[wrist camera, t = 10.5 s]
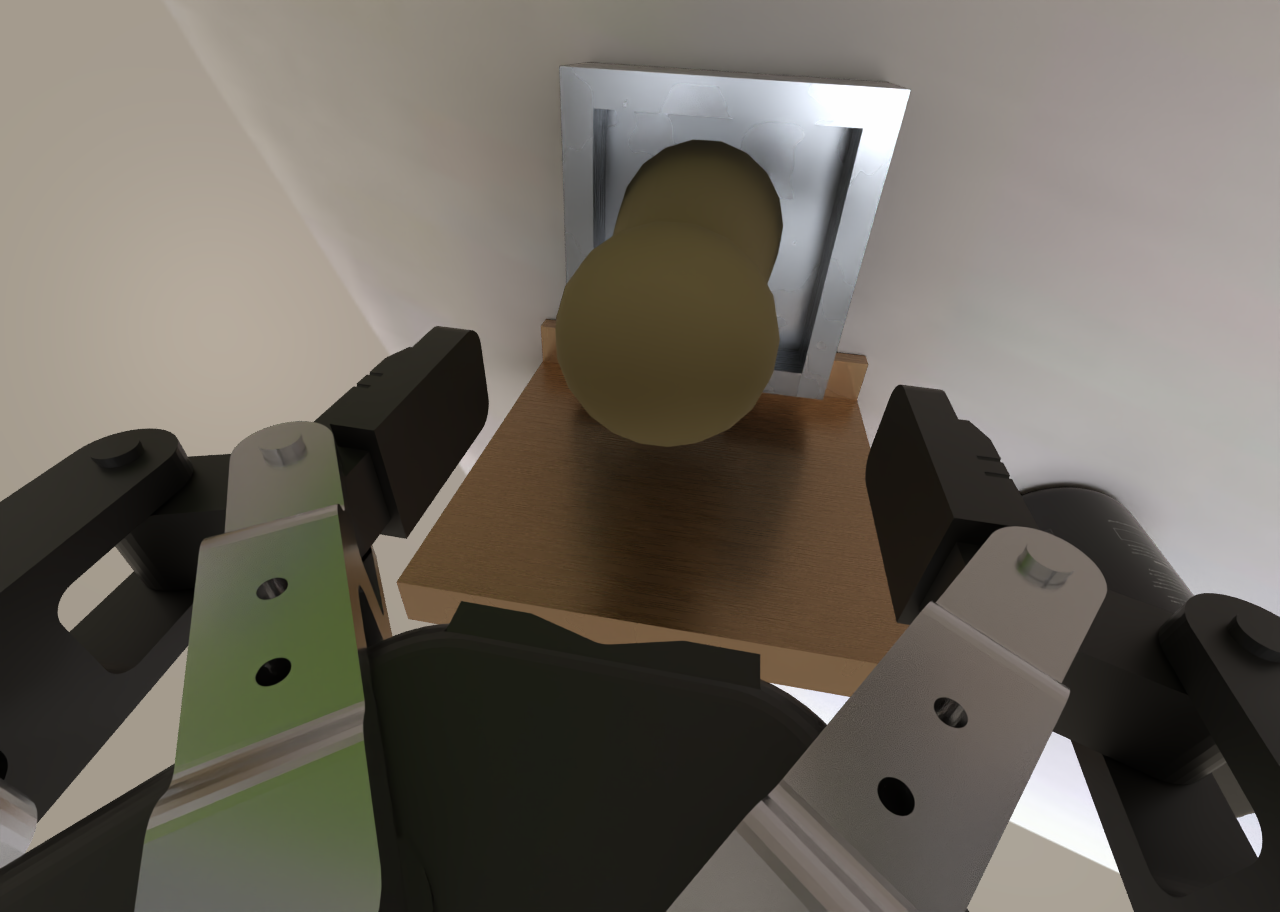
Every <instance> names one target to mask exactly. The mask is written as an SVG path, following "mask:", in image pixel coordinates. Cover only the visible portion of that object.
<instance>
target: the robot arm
mask: <svg viewBox="0 0 1280 912" xmlns="http://www.w3.org/2000/svg"><path fill="white" fill-rule="evenodd" d="M488 407H489V400H488V392H487V384H486V377H485V370H484V363H483V356H482V349H481V342H480V339H479V336H478V334H477V333H476V332H475V331H473V330H465V329H457V328H449V327H441V326H436V327H434V328H433V329H432V330H430V331H429V332H428V333H427V334H426V335H425V336H424V337H423V338H422V339H421V340H420V341H419V342H417V343H416V344H415V345H414V346H413V347H408V348H406V349H404V350H402V351H400V352H397V353H395V354H393V355H391V356H389V357H387V358H385V359H384V360H383V361H382V362H381V363H380V364H378V365H377V366H376V367H375V368H374V369H373V370H372V371H371V372H370V375H366V376H365V377H364V378H363V379H361V380H360V381H359V382H358V383H357V387H352V388H351V389H350V390H349V391H348V392H347V393H346V394H344V395H343V396H342V397H341V398H340V399H339V400H338V401H337V402H335V403H334V404H333V405H332V406H331V407H330V408H329V409H328V410H326V411H325V412H324V413H323V414H322V415H321V416H320V417H319V418H318V419H316V420H315V421H314V422H307V421H296V422H287V423H281V424H277V425H273V426H270V427H267V428H264V429H262V430H259V431H257V432H255V433H253V434H251V435H250V436H248V437H247V438H245V439H244V440H242V441H241V442H240V443H239V444H238V445H237V446H236V447H235V448H234V450H233V451H232V453H231V454H225V455H224V454H223V455H208V456H192V457H187V455H186V453H185V451H184V449H183V448H182V446H181V444H180V442H179V441H178V439H177V437H176V436H175V435H174V434H172V433H171V432H168V431H166V430H161V429H137V430H130V431H125V432H121V433H117V434H113V435H110V436H107V437H104V438H102V439H99V440H96V441H94V442H92V443H90V444H88V445H86V446H84V447H82V448H81V449H79V450H77V451H76V452H74V453H73V454H71V455H70V456H68V457H67V458H65V459H64V460H62V461H61V462H59V463H58V464H56V465H55V466H53V467H52V468H50V469H49V470H47V471H46V472H44V473H43V474H41V475H40V476H38V477H37V478H36V479H34V480H33V481H31V482H29V483H28V484H26V485H25V486H23V487H22V488H20V489H19V490H18V491H16V492H14V493H13V494H12V495H10V496H9V497H7V498H6V499H4V500H3V501H1V502H0V912H969V911H968V909H967V906H968V904H969V902H970V900H971V898H972V896H973V894H974V892H975V890H976V888H977V886H978V883H979V882H980V880H981V878H982V876H983V873H984V871H985V869H986V867H987V865H988V863H989V861H990V859H991V857H992V855H993V853H994V851H995V849H996V847H997V845H998V842H999V840H1000V838H1001V836H1002V834H1003V832H1004V830H1005V828H1006V826H1007V824H1008V822H1009V820H1010V818H1011V816H1012V814H1013V812H1014V809H1015V807H1016V805H1017V803H1018V801H1019V799H1020V797H1021V795H1022V793H1023V791H1024V789H1025V787H1026V785H1027V783H1028V781H1029V779H1030V776H1031V774H1032V772H1033V770H1034V768H1035V766H1036V764H1037V762H1038V760H1039V758H1040V756H1041V754H1042V752H1043V750H1044V748H1045V746H1046V743H1047V741H1048V739H1049V737H1050V735H1051V733H1052V731H1053V732H1055V733H1057V734H1060V735H1062V736H1064V737H1066V738H1068V739H1071V742H1072V745H1073V747H1074V750H1075V753H1076V756H1077V758H1078V761H1079V764H1080V766H1081V769H1082V772H1083V775H1084V777H1085V780H1086V783H1087V785H1088V788H1089V791H1090V794H1091V796H1092V799H1093V802H1094V804H1095V807H1096V810H1097V813H1098V815H1099V818H1100V821H1101V823H1102V826H1103V829H1104V832H1105V834H1106V837H1107V840H1108V842H1109V845H1110V848H1111V851H1112V853H1113V856H1114V859H1115V861H1116V864H1117V867H1118V870H1119V872H1120V875H1121V878H1122V880H1123V883H1124V886H1125V889H1126V891H1127V894H1128V897H1129V899H1130V902H1131V905H1132V908H1133V910H1134V912H1280V617H1278V616H1277V615H1275V614H1273V613H1271V612H1269V611H1267V610H1265V609H1263V608H1261V607H1259V606H1257V605H1254V604H1252V603H1249V602H1247V601H1244V600H1241V599H1238V598H1235V597H1231V596H1227V595H1222V594H1214V593H1203V594H1198V595H1195V596H1193V597H1191V598H1190V599H1189V600H1188V601H1187V602H1186V603H1185V604H1183V605H1182V606H1181V607H1180V608H1179V609H1178V610H1177V611H1176V612H1175V613H1171V612H1168V611H1165V610H1163V609H1160V608H1157V607H1154V606H1152V605H1149V604H1146V603H1143V602H1141V601H1138V600H1135V599H1132V598H1130V597H1127V596H1124V595H1121V594H1119V593H1116V592H1113V591H1111V590H1109V589H1107V584H1106V581H1105V578H1104V576H1103V574H1102V573H1101V571H1100V570H1099V568H1098V567H1097V566H1096V565H1095V563H1094V562H1093V561H1092V560H1091V559H1090V558H1089V557H1088V556H1086V555H1085V554H1084V553H1083V552H1081V551H1080V550H1079V549H1077V548H1076V547H1074V546H1073V545H1071V544H1070V543H1068V542H1066V541H1064V540H1063V539H1061V538H1058V537H1056V536H1054V535H1052V534H1049V533H1046V532H1044V531H1040V530H1039V528H1038V526H1037V524H1036V522H1035V520H1034V519H1033V517H1032V515H1031V513H1030V511H1029V509H1028V508H1027V506H1026V504H1025V502H1024V500H1023V498H1022V497H1021V495H1020V493H1019V491H1018V489H1017V487H1016V486H1015V484H1014V482H1013V480H1012V479H1009V476H1010V475H1009V473H1008V471H1007V469H1006V467H1005V465H1004V464H1003V463H1001V462H1000V460H1001V458H1000V456H999V454H998V453H997V451H996V449H995V447H994V445H993V443H992V442H991V440H990V439H989V438H988V437H987V436H986V435H985V434H984V433H982V432H981V431H980V430H979V429H978V428H977V427H975V426H974V425H973V424H972V423H971V422H970V421H967V420H960V419H958V418H957V416H956V414H955V412H954V410H953V408H952V406H951V404H950V402H949V399H948V397H947V395H946V394H945V392H944V391H943V390H938V389H930V388H922V387H914V386H906V385H898V386H897V387H896V388H895V389H894V390H893V392H892V394H891V396H890V399H889V401H888V404H887V407H886V409H885V412H884V415H883V417H882V420H881V422H880V425H879V428H878V430H877V433H876V436H875V438H874V441H873V444H872V446H871V449H870V452H869V455H868V459H867V464H866V471H865V482H866V488H867V492H868V497H869V501H870V506H871V510H872V515H873V519H874V524H875V528H876V533H877V537H878V542H879V546H880V551H881V555H882V559H883V564H884V568H885V573H886V577H887V582H888V586H889V591H890V595H891V600H892V604H893V609H894V613H895V618H896V622H897V623H900V624H906V625H910V626H909V627H908V628H907V629H906V630H905V632H904V633H903V634H902V635H901V636H900V638H899V639H898V640H897V641H896V643H895V644H894V645H893V646H892V647H891V649H890V650H889V651H888V652H887V653H886V655H885V656H884V657H883V658H882V659H881V661H880V662H879V663H878V664H877V665H876V667H875V668H874V669H873V670H872V671H871V673H870V674H869V675H868V676H867V678H866V679H865V680H864V681H863V682H862V684H861V685H860V686H859V687H858V688H857V690H856V691H855V692H854V693H853V694H852V696H851V697H850V698H849V699H848V700H847V702H846V703H845V704H844V705H843V707H842V708H841V709H840V710H839V711H838V713H837V714H836V715H835V716H834V717H833V719H832V720H831V721H830V722H829V723H828V725H826V723H825V722H824V721H823V720H821V719H820V718H819V717H818V716H817V715H816V714H815V713H814V712H812V711H811V710H810V709H809V708H808V707H807V706H805V705H804V704H803V703H801V702H800V701H798V700H797V699H796V698H794V697H793V696H791V695H790V694H788V693H786V692H785V691H783V690H781V689H779V688H778V687H776V686H774V685H772V684H770V683H768V682H766V681H764V680H761V679H760V654H756V653H751V652H745V651H739V650H734V649H728V648H723V647H717V646H711V645H706V644H700V643H695V642H689V641H665V642H646V643H627V644H601V643H597V642H595V641H592V640H590V639H588V638H586V637H583V636H581V635H579V634H577V633H574V632H572V631H570V630H568V629H565V628H563V627H561V626H559V625H556V624H554V623H552V622H550V621H547V620H545V619H543V618H541V617H538V616H536V615H534V614H532V613H526V612H521V611H515V610H510V609H504V608H498V607H493V606H487V605H482V604H476V603H470V602H465V601H461V602H460V604H459V606H458V608H457V610H456V612H455V614H454V616H453V618H452V619H451V621H450V623H447V624H438V625H432V626H426V627H422V628H418V629H414V630H410V631H406V632H404V633H401V634H398V635H395V636H392V632H391V628H390V623H389V618H388V613H387V608H386V604H385V598H384V593H383V588H382V583H381V579H380V573H379V568H378V563H377V558H376V555H375V552H374V549H373V546H372V544H373V543H374V541H375V540H376V539H377V537H378V536H379V535H380V534H382V535H388V536H394V537H400V538H406V539H407V537H408V536H409V534H410V533H411V531H412V530H413V529H414V527H415V526H416V524H417V523H418V521H419V520H420V518H421V517H422V515H423V514H424V512H425V511H426V510H427V508H428V507H429V505H430V504H431V503H432V501H433V500H434V498H435V496H436V495H437V494H438V492H439V491H440V489H441V488H442V487H443V485H444V484H445V482H446V481H447V479H448V478H449V476H450V475H451V473H452V472H453V471H454V469H455V468H456V466H457V465H458V463H459V462H460V461H461V459H462V458H463V456H464V455H465V453H466V452H467V450H468V449H469V448H470V446H471V445H472V443H473V442H474V440H475V439H476V437H477V436H478V435H479V433H480V432H481V430H482V429H483V427H484V425H485V422H486V419H487V415H488ZM114 546H115V547H116V548H117V549H118V550H119V552H120V553H121V555H122V556H123V557H124V558H125V559H126V561H127V562H128V563H129V565H130V566H131V568H132V569H133V570H134V572H133V573H132V574H131V575H130V576H129V577H128V578H126V580H124V581H123V582H122V583H121V584H120V585H119V586H118V587H117V588H116V589H115V590H114V591H113V592H112V593H110V595H108V596H107V597H106V598H105V599H104V600H103V601H102V602H101V603H100V604H99V605H98V606H97V607H96V608H95V609H94V610H92V611H91V612H90V613H89V614H88V615H87V616H86V617H85V618H84V619H83V620H82V621H81V622H80V623H79V624H78V625H77V626H76V627H74V629H72V630H71V631H70V632H68V631H67V630H66V629H65V628H64V627H63V625H62V624H61V623H60V621H59V619H58V613H57V612H58V604H59V601H60V599H61V597H62V595H63V593H64V592H65V591H66V589H67V588H68V587H69V586H70V585H71V584H72V583H73V582H74V581H75V580H77V579H78V578H79V577H80V576H81V575H82V574H83V573H85V572H86V571H87V570H88V569H89V568H90V567H91V566H93V565H94V564H95V563H96V562H97V561H98V560H99V559H101V558H102V557H103V556H104V555H105V554H106V553H108V552H109V551H110V550H111V549H112V548H113V547H114ZM187 646H188V655H187V662H186V671H185V680H184V688H183V697H182V706H181V715H180V723H179V732H178V742H177V750H176V758H175V764H173V765H171V766H170V767H168V768H167V769H165V770H163V771H162V772H160V773H159V774H157V775H155V776H153V777H152V778H150V779H148V780H147V781H145V782H143V783H142V784H140V785H138V786H137V787H135V788H133V789H132V790H130V791H128V792H127V793H125V794H123V795H122V796H120V797H119V798H117V799H115V800H113V801H112V802H110V803H108V804H107V805H105V806H103V807H102V808H100V809H98V810H97V811H95V812H93V813H92V814H90V815H88V816H87V817H85V818H84V819H82V820H80V821H78V822H77V823H75V824H73V825H72V826H70V827H68V828H67V829H65V830H64V831H62V832H60V833H59V834H57V835H55V836H53V837H52V838H50V839H49V840H47V841H45V842H44V843H42V844H40V845H39V846H37V847H35V848H34V849H32V850H30V851H29V852H27V853H25V851H26V849H27V848H28V846H29V844H30V842H31V840H32V837H33V835H34V832H35V829H36V824H37V823H38V822H39V820H40V819H41V818H42V817H43V816H44V815H45V813H46V812H47V811H48V810H49V809H50V807H51V806H52V805H53V804H54V803H55V802H56V800H57V799H58V798H59V797H60V796H61V794H62V793H63V792H64V791H65V790H66V789H67V787H68V786H69V785H70V784H71V783H72V782H73V780H74V779H75V778H76V777H77V776H78V775H79V773H80V772H81V771H82V770H83V769H84V767H85V766H86V765H87V764H88V763H89V762H90V760H91V759H92V758H93V757H94V756H95V754H96V753H97V752H98V751H99V750H100V749H101V747H102V746H103V745H104V744H105V743H106V741H107V740H108V739H109V738H110V737H111V736H112V734H113V733H114V732H115V731H116V730H117V729H118V727H119V726H120V725H121V724H122V723H123V722H124V720H125V719H126V718H127V717H128V715H129V714H130V713H131V712H132V711H133V710H134V709H135V707H136V706H137V705H138V704H139V703H140V701H141V700H142V699H143V698H144V697H145V696H146V694H147V693H148V692H149V691H150V690H151V689H152V687H153V686H154V685H155V684H156V683H157V681H158V680H159V679H160V678H161V677H162V676H163V674H164V673H165V672H166V671H167V670H168V669H169V667H170V666H171V665H172V664H173V663H174V661H175V660H176V659H177V658H178V657H179V656H180V654H181V653H182V652H183V651H184V650H185V648H186V647H187ZM1225 763H1227V764H1228V766H1229V768H1230V770H1231V771H1232V773H1233V775H1234V777H1235V778H1236V780H1237V782H1238V784H1239V785H1240V787H1241V789H1242V791H1243V792H1244V794H1245V796H1246V798H1247V799H1248V801H1249V803H1250V805H1251V807H1252V808H1253V810H1254V812H1255V814H1256V816H1257V818H1258V821H1259V824H1260V827H1261V831H1262V849H1261V853H1260V855H1259V857H1257V856H1256V854H1255V852H1254V850H1253V848H1252V846H1251V844H1250V843H1249V841H1248V839H1247V837H1246V835H1245V833H1244V831H1243V830H1242V828H1241V826H1240V824H1239V822H1238V820H1237V819H1236V817H1235V815H1234V813H1233V811H1232V809H1231V807H1230V806H1229V804H1228V802H1227V800H1226V798H1225V796H1224V795H1223V793H1222V791H1221V789H1220V787H1219V785H1218V783H1217V782H1216V780H1215V778H1214V776H1213V774H1212V772H1213V771H1214V770H1216V769H1217V768H1219V767H1220V766H1222V765H1223V764H1225ZM24 853H25V854H24Z"/></svg>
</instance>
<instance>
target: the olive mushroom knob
mask: <svg viewBox="0 0 1280 912" xmlns="http://www.w3.org/2000/svg"><path fill="white" fill-rule="evenodd" d="M782 230H783V220H782V212H781V205H780V198H779V196H778V194H777V192H776V190H775V188H774V186H773V184H772V182H771V180H770V177H769V175H768V173H767V172H766V171H765V170H764V169H763V168H762V167H761V166H760V165H759V164H758V163H757V162H756V161H755V160H754V159H753V158H752V157H751V156H750V155H749V154H748V153H746V152H744V151H742V150H739V149H737V148H735V147H733V146H731V145H728V144H726V143H724V142H722V141H710V140H694V139H693V140H689V141H686V142H683V143H679V144H676V145H672V146H669V147H666V148H664V149H663V150H662V151H660V152H659V153H658V154H656V155H655V156H653V157H652V158H651V159H649V160H648V161H647V162H645V163H644V164H643V165H642V166H641V168H640V169H639V170H638V172H637V173H636V175H635V176H634V177H633V179H632V180H631V182H630V183H629V184H628V186H627V188H626V191H625V194H624V197H623V200H622V203H621V207H620V210H619V213H618V217H617V221H616V225H615V229H614V233H613V236H612V237H611V238H609V239H608V240H606V241H605V242H603V243H602V244H600V245H599V246H597V247H596V248H595V249H593V250H592V251H591V252H590V253H589V254H588V256H587V257H586V258H585V259H584V261H583V262H582V263H581V265H580V266H579V268H578V269H577V270H576V272H575V273H574V275H573V276H572V277H571V279H570V280H569V281H568V283H567V284H566V286H565V289H564V293H563V296H562V300H561V303H560V307H559V310H558V314H557V317H556V326H555V332H556V349H557V360H558V363H559V365H560V368H561V370H562V373H563V375H564V378H565V380H566V383H567V385H568V388H569V389H570V391H571V392H572V393H573V395H574V396H575V397H576V398H577V400H578V401H579V402H580V403H581V405H582V406H583V407H584V409H585V410H586V411H587V412H588V414H589V415H590V416H591V417H592V418H594V419H595V420H596V421H598V422H599V423H600V424H602V425H603V426H604V427H606V428H607V429H609V430H610V431H611V432H613V433H615V434H617V435H620V436H622V437H625V438H627V439H630V440H632V441H635V442H637V443H640V444H648V445H656V446H664V447H671V446H679V445H686V444H693V443H698V442H700V441H703V440H705V439H707V438H710V437H712V436H714V435H717V434H719V433H721V432H723V431H726V430H728V429H730V428H731V427H732V426H733V425H734V424H736V423H737V422H738V421H739V420H740V419H741V418H743V417H744V416H745V415H746V414H747V413H748V412H750V411H751V410H752V409H753V407H754V406H755V404H756V402H757V400H758V399H759V397H760V395H761V394H762V392H763V390H764V389H765V387H766V385H767V384H768V382H769V380H770V378H771V376H772V374H773V372H774V367H775V362H776V357H777V352H778V347H779V342H780V337H779V329H778V322H777V315H776V309H775V302H774V296H773V294H772V292H771V290H770V288H769V286H768V285H767V284H768V281H769V278H770V276H771V273H772V270H773V267H774V264H775V261H776V259H777V256H778V253H779V247H780V242H781V236H782Z"/></svg>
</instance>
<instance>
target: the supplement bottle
mask: <svg viewBox="0 0 1280 912" xmlns="http://www.w3.org/2000/svg"><path fill="white" fill-rule="evenodd" d="M1021 497H1022V498H1023V500H1024V502H1025V504H1026V506H1027V508H1028V509H1029V511H1030V513H1031V515H1032V517H1033V519H1034V520H1035V522H1036V524H1037V526H1038V528H1039V530H1040V531H1044V532H1046V533H1049V534H1052V535H1054V536H1056V537H1058V538H1061V539H1063V540H1064V541H1066V542H1068V543H1070V544H1071V545H1073V546H1074V547H1076V548H1077V549H1079V550H1080V551H1081V552H1083V553H1084V554H1085V555H1086V556H1088V557H1089V558H1090V559H1091V560H1092V561H1093V562H1094V563H1095V565H1096V566H1097V567H1098V568H1099V570H1100V571H1101V573H1102V574H1103V576H1104V578H1105V581H1106V584H1107V589H1109V590H1111V591H1113V592H1116V593H1119V594H1121V595H1124V596H1127V597H1130V598H1132V599H1135V600H1138V601H1141V602H1143V603H1146V604H1149V605H1152V606H1154V607H1157V608H1160V609H1163V610H1165V611H1168V612H1171V613H1175V612H1176V611H1177V610H1178V609H1179V608H1180V607H1181V606H1182V605H1183V604H1185V603H1186V602H1187V601H1188V600H1189V599H1190V598H1191V597H1193V596H1194V595H1193V594H1192V592H1191V591H1190V590H1189V588H1188V587H1187V586H1186V584H1185V583H1184V582H1183V580H1182V579H1181V578H1180V577H1179V575H1178V574H1177V573H1176V571H1175V570H1174V569H1173V567H1172V566H1171V565H1170V563H1169V562H1168V561H1167V559H1166V558H1165V557H1164V555H1163V554H1162V553H1161V551H1160V550H1159V549H1158V548H1157V546H1156V545H1155V544H1154V542H1153V541H1152V540H1151V538H1150V537H1149V536H1148V534H1147V533H1146V532H1145V530H1144V529H1143V528H1142V527H1141V525H1140V524H1139V523H1138V522H1137V520H1136V519H1135V518H1134V517H1133V515H1132V514H1131V513H1130V512H1129V511H1128V510H1127V509H1126V507H1125V506H1123V505H1122V504H1121V503H1120V502H1118V501H1117V500H1115V499H1114V498H1112V497H1110V496H1108V495H1105V494H1103V493H1100V492H1097V491H1093V490H1089V489H1083V488H1073V487H1059V488H1049V489H1043V490H1038V491H1034V492H1030V493H1027V494H1024V495H1021ZM1212 774H1213V776H1214V778H1215V780H1216V782H1217V783H1218V785H1219V787H1220V789H1221V791H1222V793H1223V795H1224V796H1225V798H1226V800H1227V802H1228V804H1229V806H1230V807H1231V809H1232V811H1233V813H1234V815H1235V817H1236V818H1238V817H1242V816H1244V815H1247V814H1251V813H1255V812H1254V810H1253V808H1252V807H1251V805H1250V803H1249V801H1248V799H1247V798H1246V796H1245V794H1244V792H1243V791H1242V789H1241V787H1240V785H1239V784H1238V782H1237V780H1236V778H1235V777H1234V775H1233V773H1232V771H1231V770H1230V768H1229V766H1228V764H1227V763H1225V764H1223V765H1222V766H1220V767H1219V768H1217V769H1216V770H1214V771H1213V772H1212Z"/></svg>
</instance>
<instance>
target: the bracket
mask: <svg viewBox="0 0 1280 912" xmlns="http://www.w3.org/2000/svg"><path fill="white" fill-rule="evenodd" d="M910 91H911V90H910V89H907V88H904V87H901V86H898V85H895V84H892V83H889V82H880V81H865V80H850V79H835V78H820V77H804V76H789V75H774V74H759V73H744V72H729V71H714V70H698V69H683V68H668V67H653V66H638V65H623V64H607V63H592V62H586V63H578V64H571V65H564V66H560V97H561V128H562V160H563V191H564V223H565V254H566V284H567V283H568V281H569V280H570V279H571V277H572V276H573V275H574V273H575V272H576V270H577V269H578V268H579V266H580V265H581V263H582V262H583V261H584V259H585V258H586V257H587V256H588V254H589V253H590V252H591V251H592V250H593V249H595V248H596V247H597V246H599V245H600V244H602V243H603V242H605V241H606V240H608V239H609V238H611V237H612V236H613V233H614V229H615V225H616V221H617V217H618V213H619V210H620V207H621V203H622V200H623V197H624V194H625V191H626V188H627V186H628V184H629V183H630V182H631V180H632V179H633V177H634V176H635V175H636V173H637V172H638V170H639V169H640V168H641V166H642V165H643V164H644V163H645V162H647V161H648V160H649V159H651V158H652V157H653V156H655V155H656V154H658V153H659V152H660V151H662V150H663V149H664V148H666V147H669V146H672V145H676V144H679V143H683V142H686V141H689V140H693V139H694V140H710V141H722V142H724V143H726V144H728V145H731V146H733V147H735V148H737V149H739V150H742V151H744V152H746V153H748V154H749V155H750V156H751V157H752V158H753V159H754V160H755V161H756V162H757V163H758V164H759V165H760V166H761V167H762V168H763V169H764V170H765V171H766V172H767V173H768V175H769V177H770V180H771V182H772V184H773V186H774V188H775V190H776V192H777V194H778V196H779V198H780V205H781V212H782V220H783V230H782V236H781V242H780V247H779V253H778V256H777V259H776V261H775V264H774V267H773V270H772V273H771V276H770V278H769V281H768V284H767V285H768V286H769V288H770V290H771V292H772V294H773V296H774V302H775V309H776V315H777V322H778V329H779V337H780V342H779V347H778V352H777V357H776V362H775V367H774V372H773V374H772V376H771V378H770V380H769V382H768V384H767V385H766V387H765V389H764V390H763V392H762V394H761V395H760V397H759V399H758V400H757V402H756V404H755V406H754V407H753V409H752V410H751V411H750V412H748V413H747V414H746V415H745V416H744V417H743V418H741V419H740V420H739V421H738V422H737V423H736V424H734V425H733V426H732V427H731V428H730V429H728V430H726V431H723V432H721V433H719V434H717V435H714V436H712V437H710V438H707V439H705V440H703V441H700V442H698V443H693V444H686V445H679V446H671V447H664V446H656V445H648V444H640V443H637V442H635V441H632V440H630V439H627V438H625V437H622V436H620V435H617V434H615V433H613V432H611V431H610V430H609V429H607V428H606V427H604V426H603V425H602V424H600V423H599V422H598V421H596V420H595V419H594V418H592V417H591V416H590V415H589V414H588V412H587V411H586V410H585V409H584V407H583V406H582V405H581V403H580V402H579V401H578V400H577V398H576V397H575V396H574V395H573V393H572V392H571V391H570V389H569V388H568V385H567V383H566V380H565V378H564V375H563V373H562V370H561V368H560V365H559V363H558V360H557V349H556V332H555V326H556V320H549V319H546V320H545V321H544V323H543V324H542V325H541V337H542V353H543V362H542V363H541V365H540V366H539V368H538V369H537V371H536V372H535V374H534V376H533V377H532V379H531V380H530V382H529V383H528V385H527V386H526V388H525V389H524V391H523V392H522V394H521V395H520V397H519V398H518V400H517V401H516V403H515V404H514V406H513V407H512V409H511V410H510V412H509V413H508V415H507V416H506V418H505V419H504V421H503V422H502V424H501V425H500V427H499V428H498V430H497V431H496V433H495V434H494V436H493V437H492V439H491V440H490V442H489V443H488V445H487V446H486V448H485V449H484V451H483V452H482V454H481V455H480V457H479V458H478V460H477V462H476V463H475V465H474V466H473V468H472V469H471V471H470V472H469V474H468V475H467V477H466V478H465V480H464V481H463V483H462V484H461V486H460V487H459V489H458V490H457V492H456V493H455V495H454V496H453V498H452V499H451V501H450V502H449V504H448V505H447V507H446V508H445V510H444V511H443V513H442V514H441V516H440V517H439V519H438V520H437V522H436V524H435V525H434V526H433V528H432V529H431V531H430V532H429V534H428V536H427V537H426V538H425V540H424V542H423V543H422V545H421V546H420V548H419V549H418V551H417V552H416V554H415V555H414V557H413V558H412V560H411V561H410V563H409V564H408V566H407V567H406V569H405V570H404V572H403V573H402V575H401V576H400V578H399V579H398V581H397V585H398V588H399V591H400V594H401V598H402V601H403V604H404V607H405V610H406V613H407V616H408V619H412V620H418V621H423V622H429V623H434V624H447V623H450V621H451V619H452V618H453V616H454V614H455V612H456V610H457V608H458V606H459V604H460V602H461V601H465V602H470V603H476V604H482V605H487V606H493V607H498V608H504V609H510V610H515V611H521V612H526V613H532V614H534V615H536V616H538V617H541V618H543V619H545V620H547V621H550V622H552V623H554V624H556V625H559V626H561V627H563V628H565V629H568V630H570V631H572V632H574V633H577V634H579V635H581V636H583V637H586V638H588V639H590V640H592V641H595V642H597V643H601V644H627V643H646V642H665V641H689V642H695V643H700V644H706V645H711V646H717V647H723V648H728V649H734V650H739V651H745V652H751V653H756V654H760V679H761V680H764V681H766V682H769V683H774V684H780V685H786V686H791V687H797V688H803V689H808V690H814V691H820V692H825V693H831V694H837V695H842V696H848V697H851V696H852V694H853V693H854V692H855V691H856V690H857V688H858V687H859V686H860V685H861V684H862V682H863V681H864V680H865V679H866V678H867V676H868V675H869V674H870V673H871V671H872V670H873V669H874V668H875V667H876V665H877V664H878V663H879V662H880V661H881V659H882V658H883V657H884V656H885V655H886V653H887V652H888V651H889V650H890V649H891V647H892V646H893V645H894V644H895V643H896V641H897V640H898V639H899V638H900V636H901V635H902V634H903V633H904V632H905V630H906V629H907V628H908V627H909V626H910V625H906V624H900V623H897V622H896V618H895V613H894V609H893V604H892V600H891V595H890V591H889V586H888V582H887V577H886V573H885V568H884V564H883V559H882V555H881V551H880V546H879V542H878V537H877V533H876V528H875V524H874V519H873V515H872V510H871V506H870V501H869V497H868V492H867V488H866V482H865V471H866V464H867V459H868V455H869V452H870V446H869V442H868V438H867V435H866V431H865V428H864V424H863V420H862V417H861V413H860V410H859V406H858V402H857V398H858V395H859V392H860V388H861V385H862V382H863V379H864V376H865V373H866V370H867V367H868V362H867V359H866V356H862V355H853V354H844V353H836V352H837V348H838V344H839V341H840V337H841V334H842V330H843V327H844V323H845V320H846V316H847V313H848V309H849V306H850V302H851V299H852V295H853V292H854V288H855V285H856V281H857V278H858V274H859V270H860V267H861V263H862V260H863V256H864V253H865V249H866V246H867V242H868V239H869V235H870V232H871V228H872V225H873V221H874V218H875V214H876V211H877V207H878V204H879V200H880V196H881V193H882V189H883V186H884V182H885V179H886V175H887V172H888V168H889V165H890V161H891V158H892V154H893V151H894V147H895V144H896V140H897V137H898V133H899V129H900V126H901V122H902V119H903V115H904V112H905V108H906V105H907V101H908V98H909V94H910Z"/></svg>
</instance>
